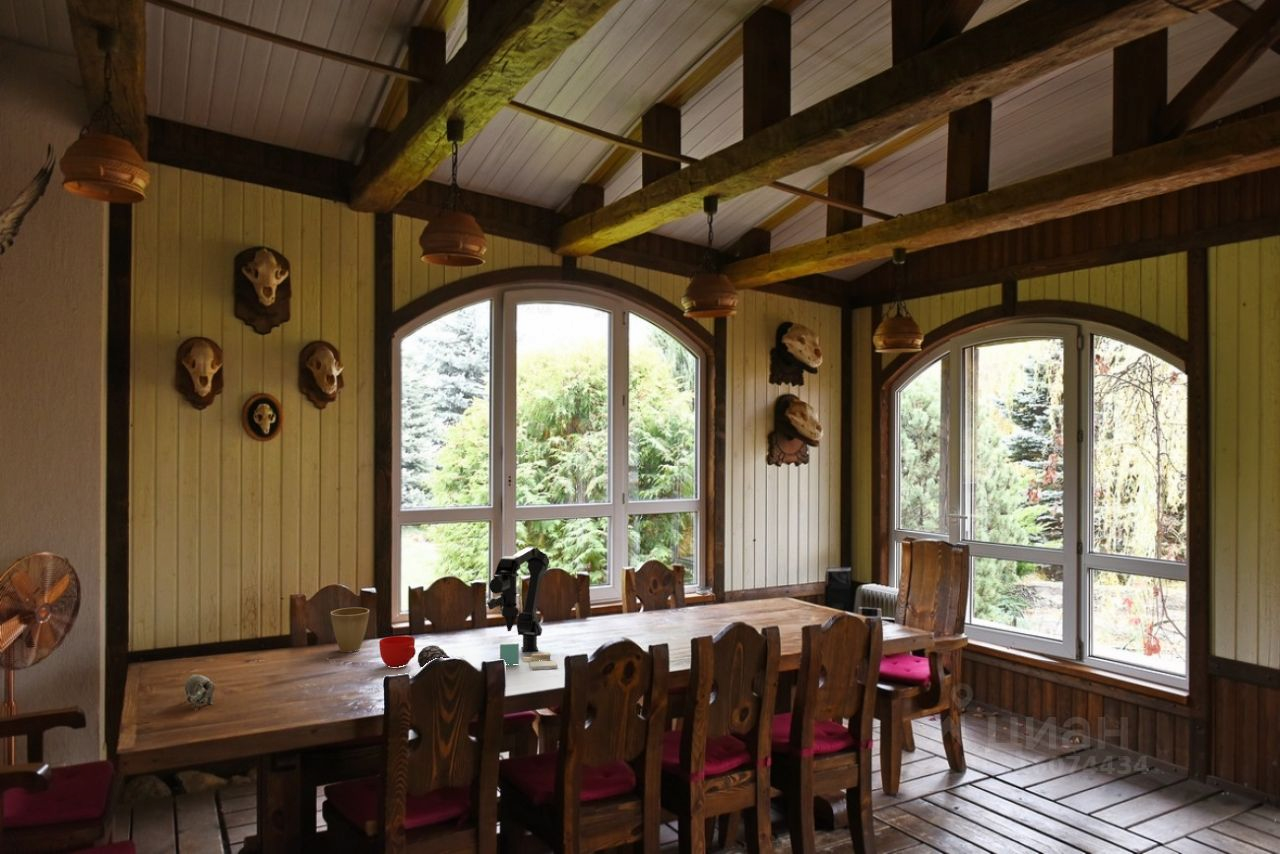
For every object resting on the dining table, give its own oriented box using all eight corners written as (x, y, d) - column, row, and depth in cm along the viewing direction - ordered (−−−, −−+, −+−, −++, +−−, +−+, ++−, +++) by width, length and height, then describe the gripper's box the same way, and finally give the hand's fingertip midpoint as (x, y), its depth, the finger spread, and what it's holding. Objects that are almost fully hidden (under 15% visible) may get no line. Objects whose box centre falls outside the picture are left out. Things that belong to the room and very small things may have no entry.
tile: (499, 665, 315) (500, 644, 315) (518, 664, 317) (518, 643, 317) (500, 666, 314) (500, 644, 314) (518, 665, 315) (518, 644, 315)
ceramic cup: (399, 674, 301) (399, 647, 301) (371, 667, 311) (372, 640, 312) (428, 667, 311) (428, 640, 312) (400, 660, 322) (400, 634, 322)
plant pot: (328, 648, 340) (329, 609, 340) (366, 644, 346) (367, 606, 346) (331, 656, 326) (332, 616, 327) (371, 652, 333) (371, 613, 333)
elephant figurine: (209, 687, 275) (210, 657, 268) (217, 720, 267) (218, 689, 259) (182, 693, 271) (183, 662, 263) (190, 727, 262) (191, 696, 255)
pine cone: (436, 682, 291) (436, 654, 292) (412, 672, 304) (412, 645, 305) (462, 677, 298) (462, 649, 299) (437, 667, 311) (437, 640, 312)
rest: (529, 665, 315) (529, 661, 315) (555, 663, 317) (555, 660, 317) (530, 669, 308) (530, 666, 308) (557, 668, 310) (557, 665, 310)
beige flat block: (522, 659, 324) (522, 653, 324) (549, 658, 326) (549, 652, 326) (523, 663, 319) (523, 656, 319) (550, 661, 321) (550, 655, 321)
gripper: (487, 586, 330) (486, 625, 330) (488, 594, 312) (488, 635, 311) (515, 585, 332) (515, 624, 332) (518, 593, 314) (518, 634, 314)
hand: (508, 629), depth 322 cm, fingers open, 6 cm apart
